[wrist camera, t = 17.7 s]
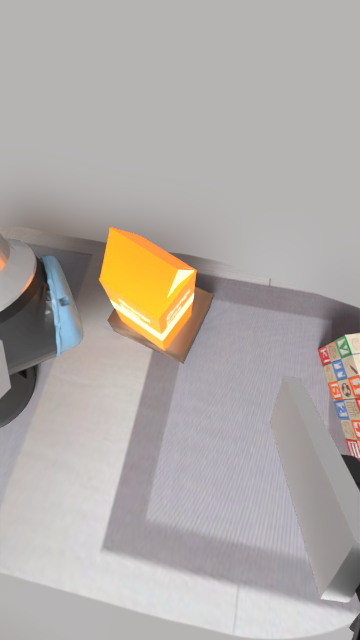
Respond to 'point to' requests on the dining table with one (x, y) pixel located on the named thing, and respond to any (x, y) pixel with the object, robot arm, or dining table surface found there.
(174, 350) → the base brick
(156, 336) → the orange juice
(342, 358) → the stack of blocks
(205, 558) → the dining table surface
